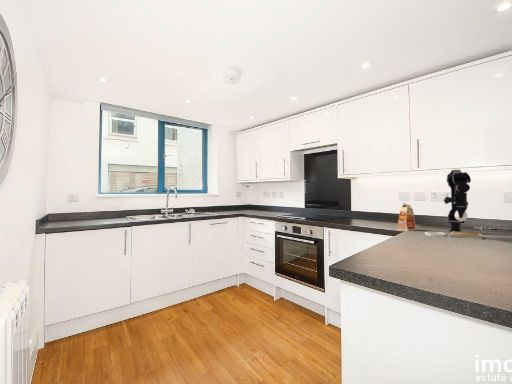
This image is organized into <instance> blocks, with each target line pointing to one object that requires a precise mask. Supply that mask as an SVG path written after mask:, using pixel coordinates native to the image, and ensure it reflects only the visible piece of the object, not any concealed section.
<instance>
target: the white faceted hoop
mask: <svg viewBox="0 0 512 384" xmlns="http://www.w3.org/2000/svg"><path fill="white" fill-rule="evenodd" d="M425 234H426V235H425ZM424 235H425V236H430V237H432V236H433V237H446V233H445V232H440V231H425V232H424Z"/></svg>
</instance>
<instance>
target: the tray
mask: <svg viewBox="0 0 512 384" xmlns="http://www.w3.org/2000/svg"><path fill="white" fill-rule="evenodd" d="M450 237H451V238H462V239H474V240H482V233H480V232H468V231H467V232H465V231H462V232H454V231H452V232H450Z"/></svg>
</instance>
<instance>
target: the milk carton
mask: <svg viewBox="0 0 512 384" xmlns="http://www.w3.org/2000/svg"><path fill="white" fill-rule="evenodd" d="M402 203H403V204H402V206H400V211H399V215H398V222H397V227H396V228H397V230H401V231H410V230H411V231H416V230H417V228H416V227H417V226H416V220H415V214H414V208H413V207H412V206H411V204H407V203H406V202H405V203H404V202H402Z"/></svg>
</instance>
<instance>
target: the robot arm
mask: <svg viewBox="0 0 512 384" xmlns="http://www.w3.org/2000/svg"><path fill="white" fill-rule="evenodd" d="M446 183H447V185H448V187H449V188H450V195H451V196H450V197H449V196H445V198H444V199H443V202H444V203H445V205H447V204H450V203H451V205H450V206H451V208H450V210H449V212H448V214H447V218H446V219H447V223H448V224H449V232H450V233H451V232H452V231H454V232H463V231H462V230H461V228H462V225H461V224H465V220H464V221H459V220H457V219H456V218H455V212H456V211H458V214H459V218H462V217H463V214H464V212H465V211H466V212H467V210H468V206H469V202H468V198H467V196H468V192H469V191H470V189H471V186H470V185H469V183H471V175H470V174H468V172H466V171H465V172H462V171H461V169H451V170H450V172H449V173H448V174H447V175H446Z"/></svg>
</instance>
